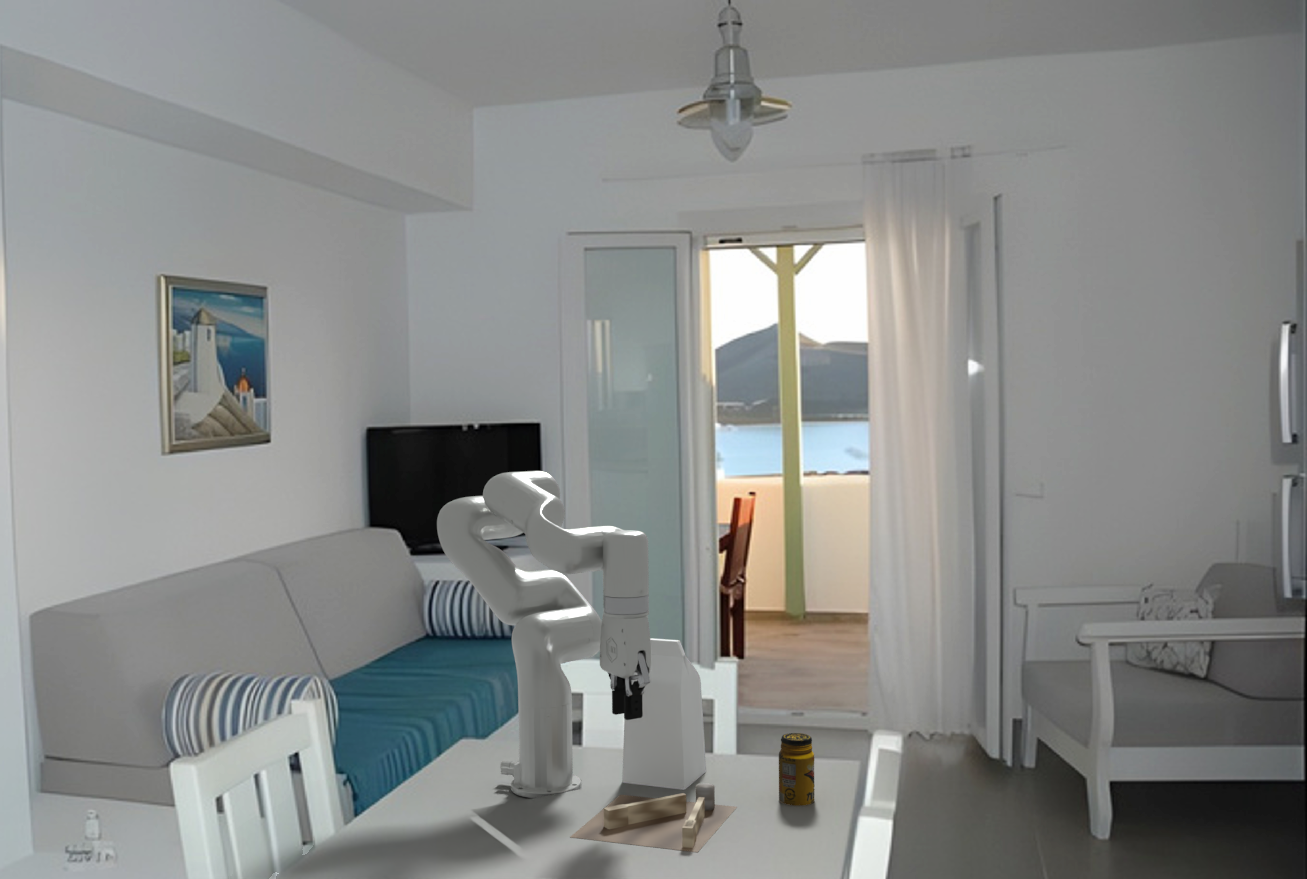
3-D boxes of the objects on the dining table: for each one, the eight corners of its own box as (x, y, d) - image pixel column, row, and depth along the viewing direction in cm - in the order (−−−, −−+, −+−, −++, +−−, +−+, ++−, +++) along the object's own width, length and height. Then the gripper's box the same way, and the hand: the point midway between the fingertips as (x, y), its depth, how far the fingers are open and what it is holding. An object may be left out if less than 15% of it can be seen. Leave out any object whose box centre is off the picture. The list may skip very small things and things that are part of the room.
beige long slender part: (697, 803, 209) (697, 782, 209) (715, 804, 209) (715, 783, 209) (677, 846, 189) (677, 823, 189) (697, 848, 189) (697, 824, 189)
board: (569, 843, 194) (569, 837, 194) (620, 800, 215) (620, 794, 215) (697, 858, 187) (697, 852, 187) (737, 812, 208) (737, 806, 208)
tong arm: (682, 810, 206) (682, 792, 206) (687, 813, 205) (687, 795, 205) (603, 826, 199) (603, 808, 199) (608, 829, 197) (608, 810, 197)
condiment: (825, 807, 210) (824, 737, 210) (786, 817, 205) (786, 745, 205) (797, 796, 216) (797, 728, 216) (759, 805, 212) (758, 736, 211)
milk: (621, 788, 222) (620, 643, 221) (646, 770, 232) (644, 632, 232) (684, 795, 217) (683, 648, 216) (706, 776, 228) (705, 636, 227)
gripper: (583, 601, 210) (584, 708, 211) (630, 615, 196) (632, 730, 196) (621, 597, 214) (623, 702, 214) (671, 610, 200) (672, 723, 200)
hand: (627, 714), depth 205 cm, fingers open, 3 cm apart
